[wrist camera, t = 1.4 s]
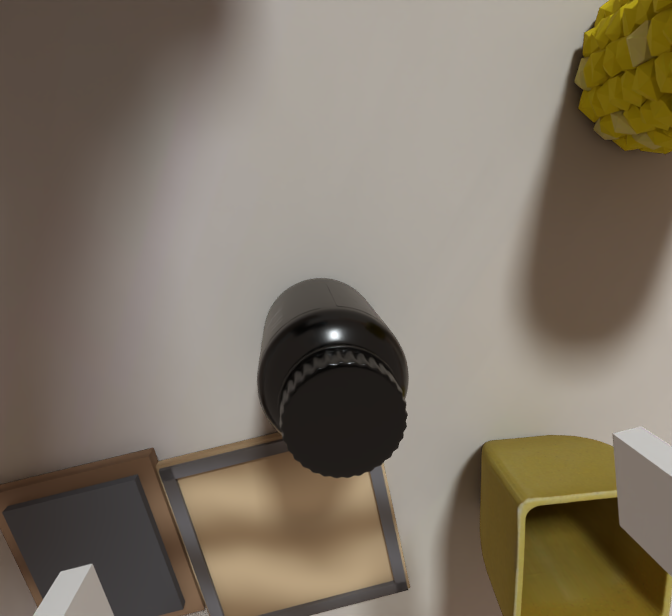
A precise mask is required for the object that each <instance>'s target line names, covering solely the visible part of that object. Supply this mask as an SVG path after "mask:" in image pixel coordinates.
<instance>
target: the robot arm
mask: <svg viewBox="0 0 672 616" xmlns="http://www.w3.org/2000/svg"><path fill="white" fill-rule="evenodd" d="M613 446H614V459H615V472H616V485H617V498H618V511H619V524H620V526H621V527H622V528H623V529H624V530H625V531H626V532H627V533H628V534H629V535H630V536H631V537H632V538H633V539H634V540H635V541H636V542H637V543H638V544H639V545H640V546H641V547H642V548H643V549H644V550H645V551H646V552H647V553H648V554H649V555H650V556H651V557H652V558H653V559H654V560H655V561H656V562H657V563H658V564H659V565H660V566H661V567H662V568H663V569H664V570H665V571H666V572H667V573H668V574H669V575H670V576H671V577H672V446H671V445H670V444H668V443H667V442H665V441H664V440H662V439H660V438H659V437H657V436H656V435H654V434H653V433H651V432H650V431H648V430H647V429H645V428H643V427H642V426H640V427H636V428H632V429H628V430H624V431H620V432H616V433H613ZM33 616H114V614H113V612H112V610H111V607H110V605H109V602H108V600H107V597H106V595H105V593H104V590H103V588H102V585H101V583H100V581H99V578H98V576H97V573H96V571H95V569H94V566H93V564H89V565H85V566H81V567H77V568H73V569H69V570H65V571H61V572H60V573H59V575H58V577H57V578H56V580H55V581H54V583H53V585H52V586H51V588H50V589H49V591H48V593H47V594H46V596H45V597H44V599H43V601H42V602H41V604H40V605H39V607H38V608H37V610H36V612H35V613H34V615H33Z"/></svg>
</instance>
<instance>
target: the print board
mask: <svg viewBox="0 0 672 616" xmlns="http://www.w3.org/2000/svg"><path fill="white" fill-rule="evenodd" d="M156 469H157V471H158V474H159V477H160V480H161V483H162V485H163V488H164V491H165V494H166V497H167V499H168V502H169V505H170V508H171V510H172V513H173V516H174V519H175V522H176V524H177V527H178V530H179V533H180V535H181V538H182V541H183V544H184V547H185V549H186V552H187V555H188V558H189V561H190V563H191V566H192V569H193V572H194V574H195V577H196V580H197V583H198V586H199V588H200V591H201V594H202V597H203V600H204V602H205V605H206V608H207V611H208V613H209V616H309V615H313V614H317V613H321V612H325V611H329V610H333V609H336V608H340V607H344V606H348V605H352V604H356V603H359V602H363V601H367V600H371V599H375V598H379V597H383V596H386V595H390V594H394V593H398V592H402V591H406V590H408V588H410V584H409V580H408V575H407V570H406V566H405V561H404V556H403V552H402V547H401V542H400V538H399V533H398V528H397V524H396V519H395V514H394V510H393V505H392V500H391V496H390V491H389V486H388V482H387V477H386V472H385V468H384V463H383V464H382V465H380V466H378V467H375V468H374V469H373V470H372V471H371V472H365V473H364V474H362V475H361V476H352V477H350V478H345V477H340V478H333V477H331V476H328V477H324V476H322V475H321V474H319V473H313V472H312V471H311V470H310V469H308V468H304V467H303V466H302V465H301V463H300V462H298V461H296V460H295V459H294V457H293V454H292V453H290V452H289V451H288V450H287V446H286V443H285V442H284V440H283V439H282V435H281V434H280V433H279V432H277V433H273V434H269V435H264V436H260V437H256V438H252V439H248V440H244V441H240V442H236V443H232V444H227V445H223V446H219V447H215V448H211V449H207V450H203V451H199V452H195V453H190V454H186V455H182V456H178V457H174V458H170V459H166V460H162V461H158V463H157V465H156Z"/></svg>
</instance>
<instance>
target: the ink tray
mask: <svg viewBox="0 0 672 616" xmlns="http://www.w3.org/2000/svg"><path fill="white" fill-rule="evenodd" d="M157 463H158V459H157V456H156V453H155V450H154V448H150V449H146V450H142V451H138V452H134V453H129V454H125V455H121V456H117V457H113V458H109V459H105V460H101V461H96V462H92V463H88V464H84V465H80V466H76V467H72V468H67V469H63V470H59V471H55V472H51V473H47V474H43V475H38V476H34V477H30V478H26V479H22V480H18V481H14V482H10V483H5V484H1V485H0V529H1V531H2V533H3V535H4V537H5V539H6V541H7V544H8V546H9V548H10V550H11V552H12V554H13V556H14V558H15V560H16V562H17V565H18V567H19V569H20V571H21V573H22V575H23V577H24V579H25V581H26V583H27V586H28V588H29V590H30V592H31V594H32V596H33V598H34V600H35V602H36V604H37V607H39V605H40V604H41V602H42V601H43V599H42V597H41V594H40V592H39V590H38V588H37V586H36V584H35V582H34V579H33V577H32V575H31V573H30V571H29V569H28V567H27V565H26V562H25V560H24V558H23V556H22V554H21V552H20V550H19V548H18V545H17V543H16V541H15V539H14V537H13V535H12V533H11V531H10V528H9V526H8V524H7V522H6V520H5V518H4V516H3V514H2V512H3V511H4V510H5V509H6V507H7V506H10V505H14V504H18V503H22V502H26V501H30V500H34V499H38V498H42V497H47V496H51V495H55V494H59V493H63V492H67V491H71V490H75V489H79V488H83V487H88V486H92V485H96V484H100V483H104V482H108V481H112V480H116V479H120V478H124V477H129V476H133V475H137V474H138V476H139V479H140V481H141V484H142V487H143V489H144V492H145V495H146V497H147V500H148V503H149V505H150V508H151V511H152V513H153V516H154V519H155V522H156V524H157V527H158V530H159V532H160V535H161V538H162V540H163V543H164V546H165V548H166V551H167V554H168V556H169V559H170V562H171V565H172V567H173V570H174V573H175V575H176V578H177V581H178V583H179V586H180V589H181V591H182V594H183V597H184V599H185V605H184V609H183V610H179V611H175V612H171V613H167V614H164V615H160V616H181V615H185V614H189V613H193V612H197V611H200V610H204V608H205V602H204V600H203V597H202V594H201V591H200V588H199V586H198V583H197V580H196V577H195V574H194V572H193V569H192V566H191V563H190V561H189V558H188V555H187V552H186V549H185V547H184V544H183V541H182V538H181V535H180V533H179V530H178V527H177V524H176V522H175V519H174V516H173V513H172V510H171V508H170V505H169V502H168V499H167V497H166V494H165V491H164V488H163V485H162V483H161V480H160V477H159V474H158V471H157V469H156V465H157Z"/></svg>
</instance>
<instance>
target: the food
mask: <svg viewBox="0 0 672 616" xmlns="http://www.w3.org/2000/svg"><path fill="white" fill-rule="evenodd" d="M594 26H595V27H594V28H592V29H590V30H588V31H587V32H585V33H584V43H583V56H584V57H585V58H581V61H580V65H579V68H578V71H577V74H576V78H575V81H574V82H575V83H576V84H577V85H578V86H579V87H580V88H582V89H584V90H583V92H582V95H581V99H580V103H579V107H578V109H579V110H580V111H581V112H583V113H584V114H585V115H586V116H587V117H588V118H589V119H590V120H592V121H593V122H596V123H595V126H594V129H593V130H594V131H595V132H596V133H598V134H599V135H600V136H601V137H602V138H603V139H604V140H612V141H613V142H614V143H616V144H617V145H618V146H619V147H621V148H622V149H623V150H624V151H628V150H634V149H639V150H640V151H647V152H654V153H664V154H667V153H669V152H671V151H672V0H609V1H608V2H606V3H605V4H604V5H603V6H601V7H600V8H599V11H598V15H597V18H596V21H595V24H594Z"/></svg>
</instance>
